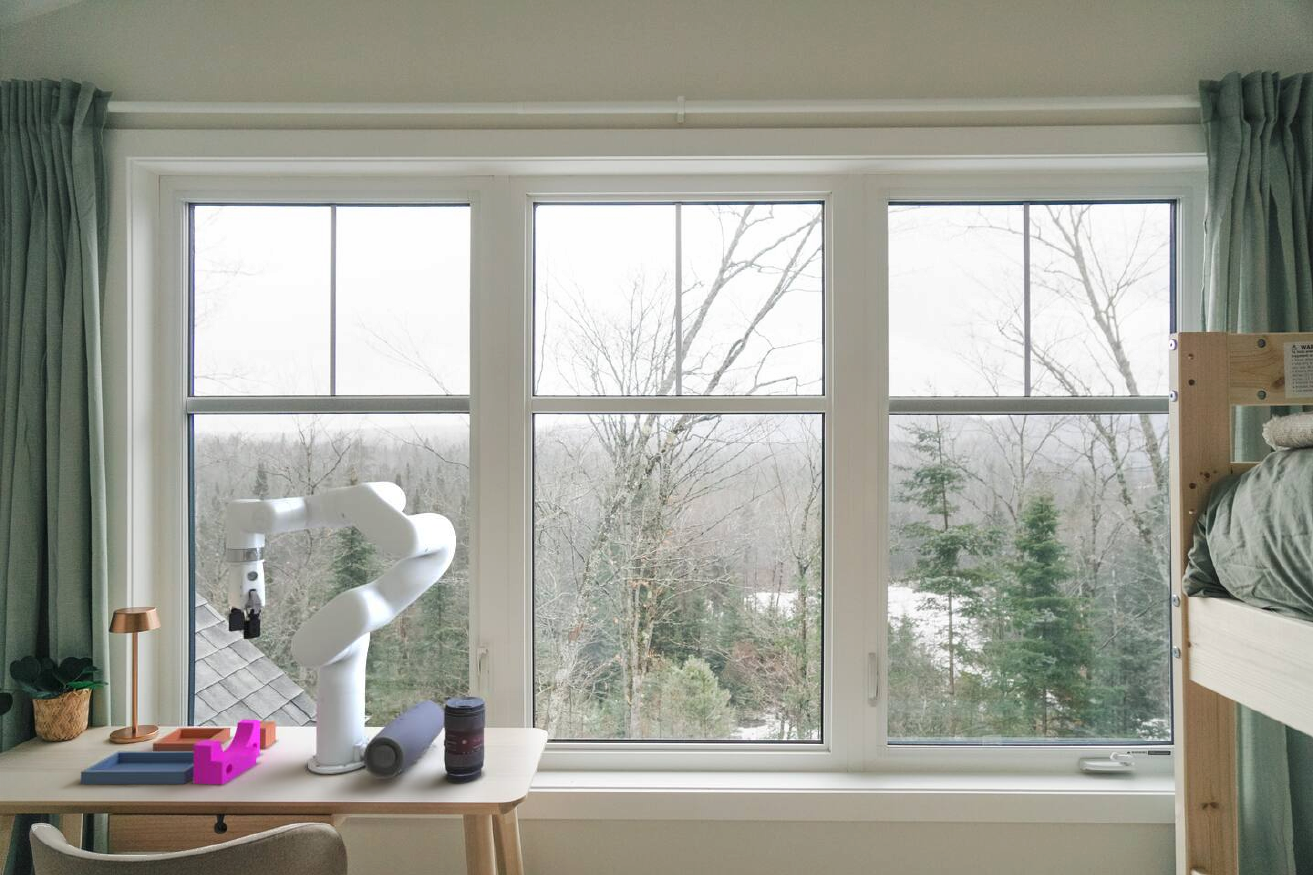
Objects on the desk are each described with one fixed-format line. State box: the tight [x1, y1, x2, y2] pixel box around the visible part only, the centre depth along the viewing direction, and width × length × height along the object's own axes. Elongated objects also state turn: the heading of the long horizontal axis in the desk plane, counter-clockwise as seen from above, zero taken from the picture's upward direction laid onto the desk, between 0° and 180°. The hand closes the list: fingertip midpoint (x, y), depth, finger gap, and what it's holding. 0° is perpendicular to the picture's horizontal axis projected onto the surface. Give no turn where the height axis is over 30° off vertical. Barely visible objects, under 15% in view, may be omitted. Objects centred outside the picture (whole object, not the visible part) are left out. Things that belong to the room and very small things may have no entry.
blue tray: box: [80, 750, 194, 785], centre depth 158 cm, size 21×11×2 cm, turn 90°
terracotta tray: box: [152, 727, 231, 751], centre depth 173 cm, size 12×10×2 cm
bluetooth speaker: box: [364, 700, 444, 779], centre depth 164 cm, size 23×9×10 cm, turn 175°
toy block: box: [193, 718, 261, 786], centre depth 160 cm, size 15×6×8 cm, turn 172°
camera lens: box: [443, 696, 486, 784], centre depth 157 cm, size 8×8×15 cm
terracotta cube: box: [260, 721, 277, 750], centre depth 173 cm, size 4×4×4 cm
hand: (244, 634), depth 169 cm, fingers open, 9 cm apart
